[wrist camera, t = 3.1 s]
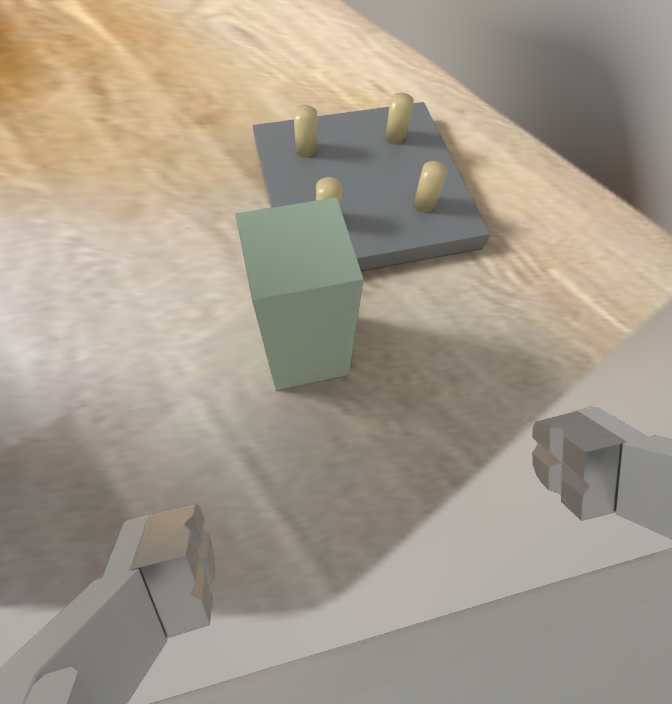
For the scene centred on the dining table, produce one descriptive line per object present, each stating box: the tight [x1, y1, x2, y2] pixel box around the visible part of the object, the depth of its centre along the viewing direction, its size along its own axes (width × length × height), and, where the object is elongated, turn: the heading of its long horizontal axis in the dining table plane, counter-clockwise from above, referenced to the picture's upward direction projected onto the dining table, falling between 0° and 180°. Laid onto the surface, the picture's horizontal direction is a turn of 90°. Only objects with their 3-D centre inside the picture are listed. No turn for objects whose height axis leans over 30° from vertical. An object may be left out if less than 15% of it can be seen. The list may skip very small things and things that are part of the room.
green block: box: [236, 197, 364, 391], centre depth 23 cm, size 4×4×10 cm
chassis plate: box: [253, 93, 490, 271], centre depth 31 cm, size 14×14×4 cm
